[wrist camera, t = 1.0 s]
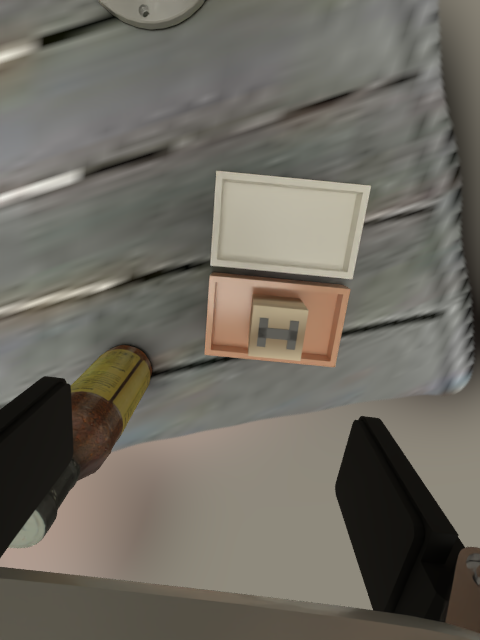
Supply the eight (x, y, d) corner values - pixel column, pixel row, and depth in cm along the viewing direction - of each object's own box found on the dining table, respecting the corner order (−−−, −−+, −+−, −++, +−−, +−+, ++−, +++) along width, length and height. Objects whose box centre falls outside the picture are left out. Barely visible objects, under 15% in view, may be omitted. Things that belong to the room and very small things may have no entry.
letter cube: (252, 293, 33) (253, 305, 28) (299, 298, 33) (308, 310, 28) (248, 337, 34) (248, 356, 29) (293, 342, 34) (300, 361, 29)
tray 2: (212, 272, 33) (209, 275, 31) (343, 284, 33) (350, 289, 31) (207, 346, 36) (204, 354, 33) (329, 357, 36) (334, 367, 33)
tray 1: (219, 175, 30) (216, 170, 28) (361, 189, 30) (371, 185, 28) (213, 262, 33) (210, 265, 30) (344, 275, 33) (352, 279, 30)
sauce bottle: (91, 362, 37) (-80, 509, 17) (129, 332, 35) (-9, 455, 16) (129, 401, 38) (9, 578, 19) (167, 374, 37) (80, 532, 18)
